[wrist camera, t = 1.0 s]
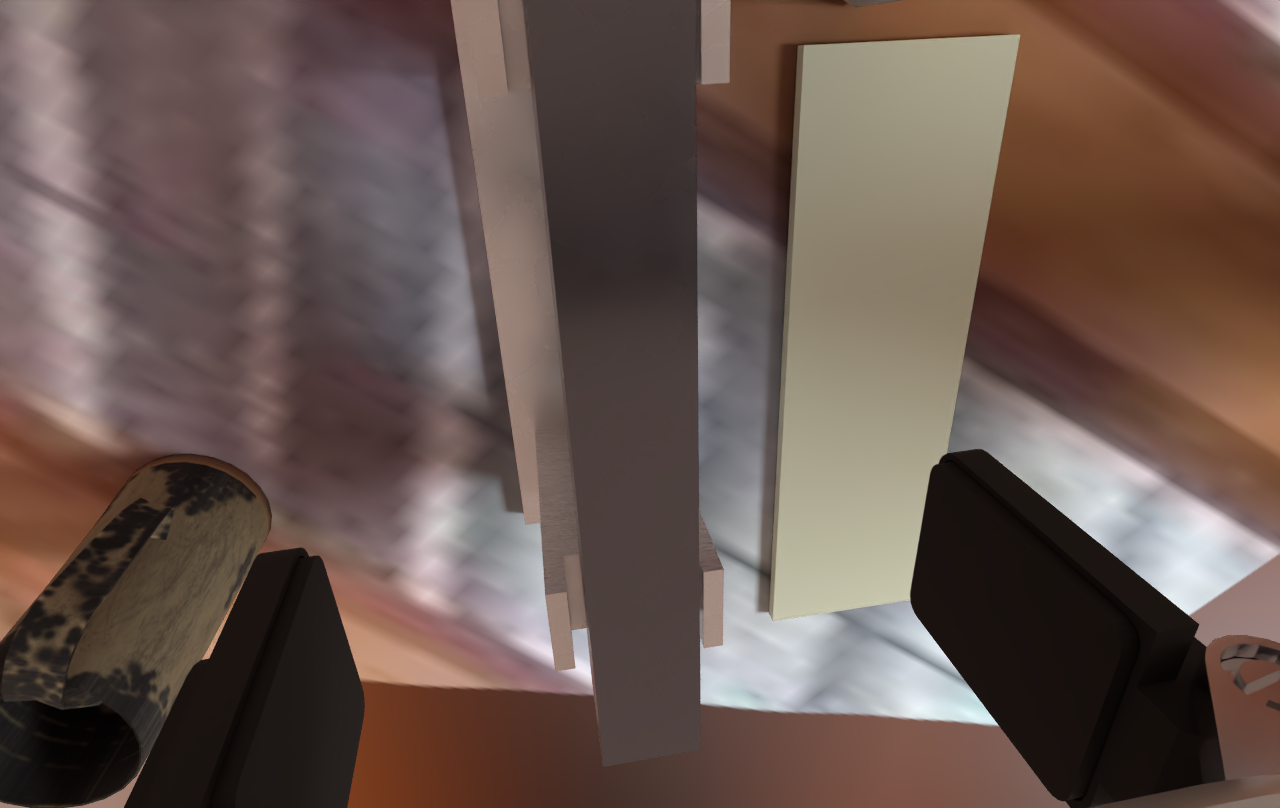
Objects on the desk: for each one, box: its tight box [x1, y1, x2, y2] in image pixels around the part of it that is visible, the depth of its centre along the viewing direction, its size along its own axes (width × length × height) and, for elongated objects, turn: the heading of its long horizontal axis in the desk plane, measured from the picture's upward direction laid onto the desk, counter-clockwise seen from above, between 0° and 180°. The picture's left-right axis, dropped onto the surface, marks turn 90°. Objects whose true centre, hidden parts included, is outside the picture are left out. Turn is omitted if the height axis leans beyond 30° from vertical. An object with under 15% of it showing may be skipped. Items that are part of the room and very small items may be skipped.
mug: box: [0, 454, 272, 808], centre depth 23 cm, size 8×6×12 cm
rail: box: [522, 0, 701, 766], centre depth 18 cm, size 3×24×3 cm, turn 2°
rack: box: [451, 0, 731, 671], centre depth 22 cm, size 7×22×11 cm, turn 2°
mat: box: [769, 34, 1020, 621], centre depth 31 cm, size 8×26×1 cm, turn 2°
